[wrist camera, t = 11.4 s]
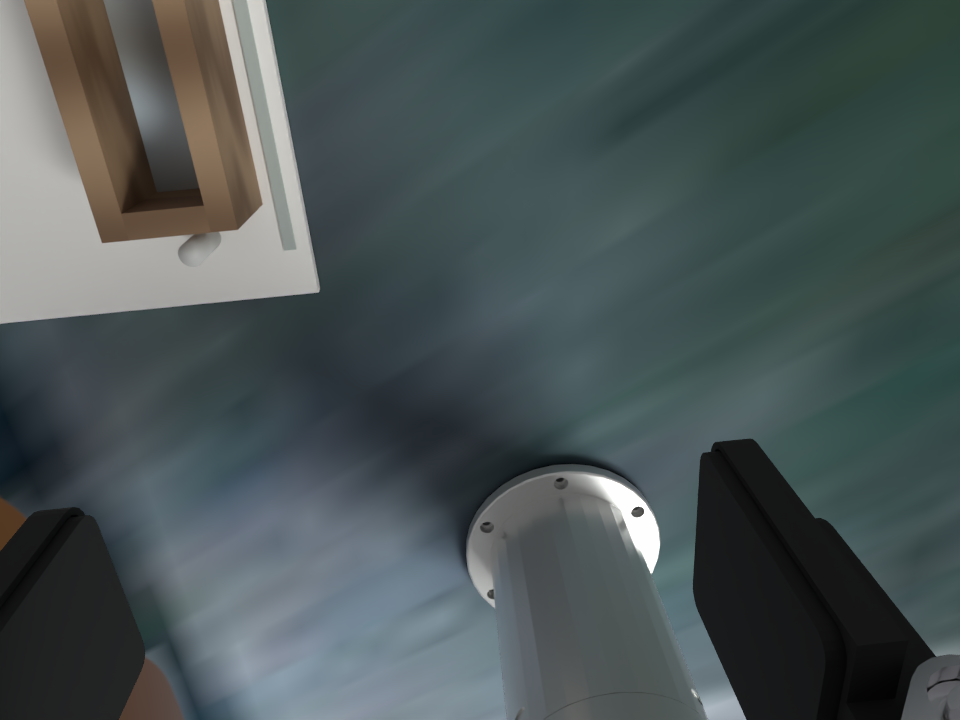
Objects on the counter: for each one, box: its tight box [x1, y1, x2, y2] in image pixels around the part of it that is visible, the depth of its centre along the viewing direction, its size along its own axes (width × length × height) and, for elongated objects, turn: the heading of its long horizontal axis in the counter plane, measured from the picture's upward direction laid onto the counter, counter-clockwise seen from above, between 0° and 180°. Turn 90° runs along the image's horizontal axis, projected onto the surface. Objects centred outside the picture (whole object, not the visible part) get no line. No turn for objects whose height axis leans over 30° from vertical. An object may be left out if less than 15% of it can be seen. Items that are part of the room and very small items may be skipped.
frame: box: [24, 0, 263, 243], centre depth 31 cm, size 14×6×5 cm, turn 5°
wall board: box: [0, 0, 320, 324], centre depth 32 cm, size 22×19×4 cm
